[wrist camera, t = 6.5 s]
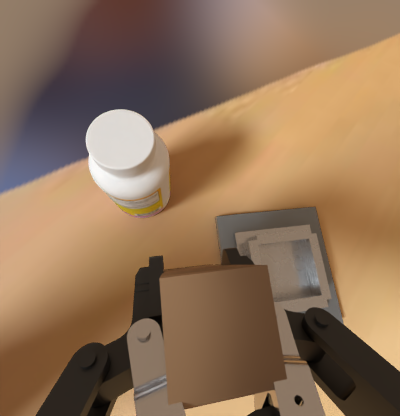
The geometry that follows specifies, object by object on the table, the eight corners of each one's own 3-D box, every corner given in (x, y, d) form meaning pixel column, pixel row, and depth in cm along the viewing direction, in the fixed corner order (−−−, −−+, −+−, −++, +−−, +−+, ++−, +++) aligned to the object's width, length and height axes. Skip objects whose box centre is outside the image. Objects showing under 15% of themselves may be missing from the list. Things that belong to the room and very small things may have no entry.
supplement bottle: (135, 158, 29) (108, 80, 17) (180, 184, 29) (186, 124, 17) (104, 201, 27) (48, 150, 15) (152, 229, 27) (135, 200, 15)
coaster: (232, 341, 25) (234, 344, 25) (215, 217, 29) (216, 216, 28) (337, 322, 27) (343, 324, 26) (310, 208, 30) (315, 206, 29)
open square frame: (246, 319, 25) (255, 325, 23) (233, 233, 27) (239, 230, 25) (325, 306, 27) (341, 310, 24) (306, 225, 29) (319, 221, 26)
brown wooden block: (167, 319, 17) (168, 412, 6) (164, 270, 18) (159, 278, 7) (214, 312, 17) (288, 386, 7) (208, 264, 18) (267, 265, 8)
